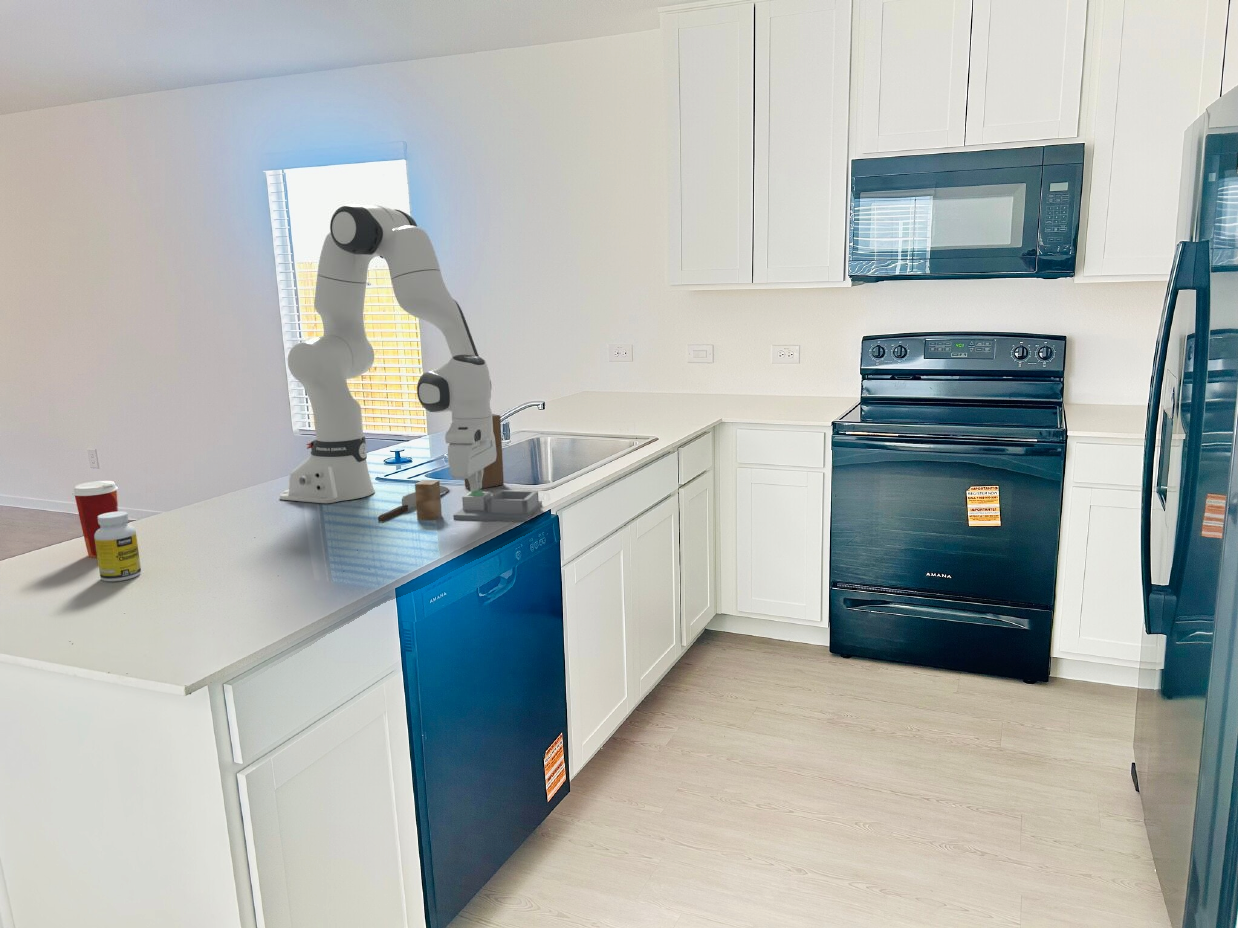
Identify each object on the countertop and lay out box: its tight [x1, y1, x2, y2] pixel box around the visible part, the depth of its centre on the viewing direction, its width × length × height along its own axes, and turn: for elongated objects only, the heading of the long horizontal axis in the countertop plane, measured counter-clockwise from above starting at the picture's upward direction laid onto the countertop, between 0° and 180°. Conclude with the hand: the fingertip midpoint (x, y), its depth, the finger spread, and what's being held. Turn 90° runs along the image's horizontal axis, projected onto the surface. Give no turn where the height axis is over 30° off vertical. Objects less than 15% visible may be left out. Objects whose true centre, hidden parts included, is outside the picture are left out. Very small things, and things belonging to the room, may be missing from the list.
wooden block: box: [464, 413, 505, 490], centre depth 219 cm, size 9×4×18 cm, turn 130°
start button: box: [470, 489, 484, 496], centre depth 196 cm, size 3×3×3 cm
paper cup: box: [72, 480, 119, 559], centre depth 170 cm, size 8×8×14 cm
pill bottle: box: [94, 510, 142, 583], centre depth 156 cm, size 6×6×12 cm
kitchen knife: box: [377, 485, 451, 523], centre depth 204 cm, size 4×1×30 cm
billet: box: [414, 479, 443, 521], centre depth 192 cm, size 4×4×8 cm
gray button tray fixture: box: [452, 489, 543, 523], centre depth 196 cm, size 16×14×4 cm
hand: (476, 489), depth 196 cm, fingers closed
